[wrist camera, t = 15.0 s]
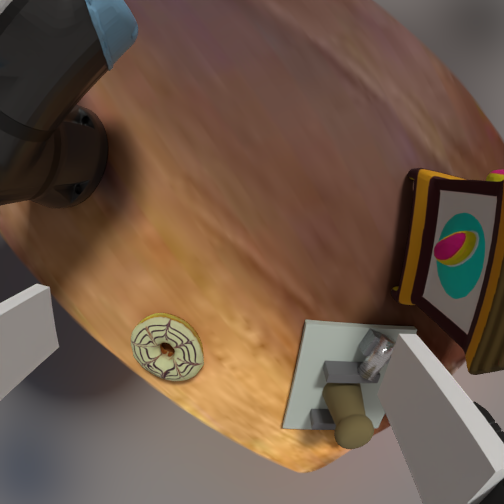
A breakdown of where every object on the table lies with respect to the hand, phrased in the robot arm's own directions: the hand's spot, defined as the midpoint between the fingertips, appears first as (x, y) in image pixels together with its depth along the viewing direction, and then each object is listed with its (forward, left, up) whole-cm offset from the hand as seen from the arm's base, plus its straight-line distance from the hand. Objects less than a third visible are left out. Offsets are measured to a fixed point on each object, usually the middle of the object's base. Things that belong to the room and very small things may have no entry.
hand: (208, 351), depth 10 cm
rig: (+17, -22, -29) cm, 40 cm away
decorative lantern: (+28, +2, -29) cm, 40 cm away
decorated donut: (-10, -18, -29) cm, 36 cm away
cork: (+16, -23, -28) cm, 39 cm away
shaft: (+19, -15, -27) cm, 36 cm away
